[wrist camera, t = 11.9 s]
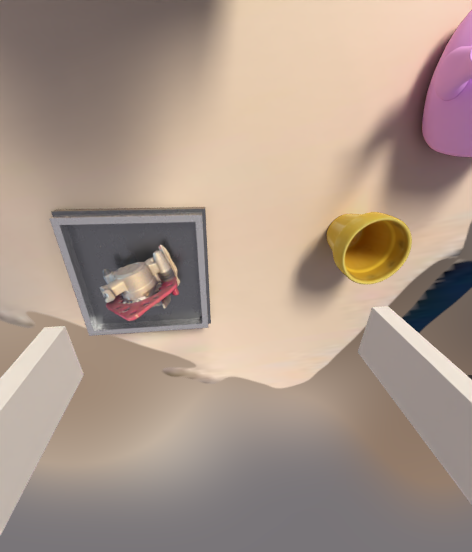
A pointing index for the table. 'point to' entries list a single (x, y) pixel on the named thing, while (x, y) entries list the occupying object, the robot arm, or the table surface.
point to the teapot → (451, 97)
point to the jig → (130, 249)
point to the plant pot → (369, 245)
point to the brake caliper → (141, 285)
